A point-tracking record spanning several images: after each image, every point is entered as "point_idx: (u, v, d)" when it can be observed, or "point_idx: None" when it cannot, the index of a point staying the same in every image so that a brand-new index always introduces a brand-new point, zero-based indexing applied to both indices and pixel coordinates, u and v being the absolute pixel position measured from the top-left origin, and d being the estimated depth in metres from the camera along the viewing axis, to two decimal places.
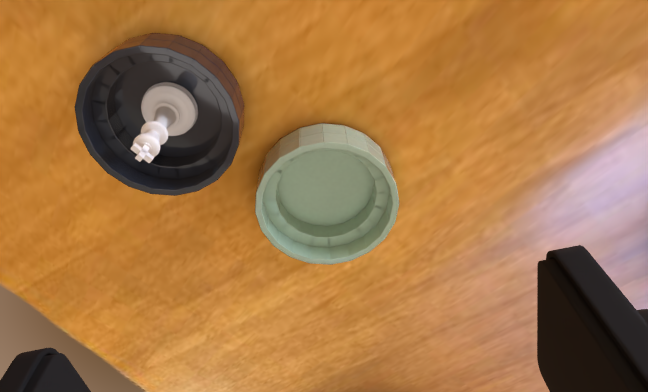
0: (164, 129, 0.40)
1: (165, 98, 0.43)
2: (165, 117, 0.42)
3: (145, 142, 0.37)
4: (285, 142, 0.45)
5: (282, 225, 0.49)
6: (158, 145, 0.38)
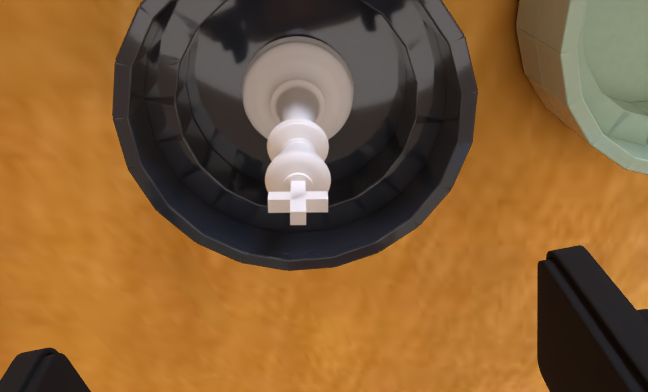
0: (307, 124, 0.17)
1: (275, 78, 0.20)
2: (296, 106, 0.19)
3: (288, 175, 0.15)
4: None
5: (647, 131, 0.21)
6: (317, 160, 0.15)
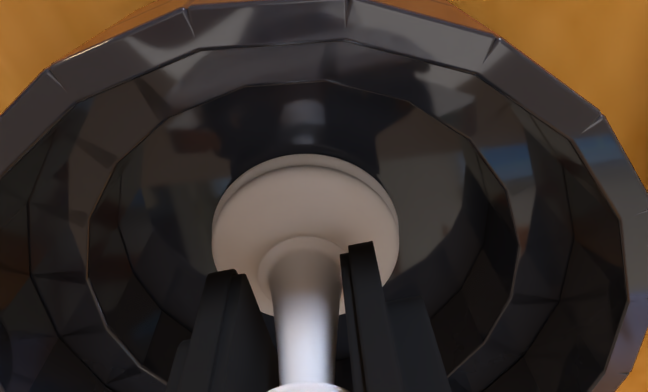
0: None
1: (267, 229, 0.12)
2: (304, 304, 0.10)
3: None
4: None
5: None
6: None
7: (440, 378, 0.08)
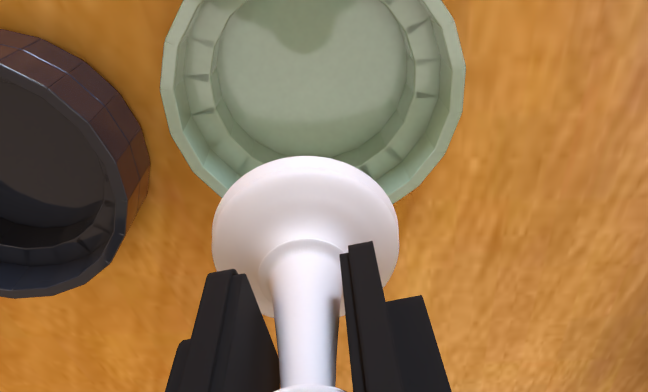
0: None
1: (267, 232, 0.12)
2: (304, 306, 0.10)
3: None
4: None
5: None
6: None
7: (440, 378, 0.08)
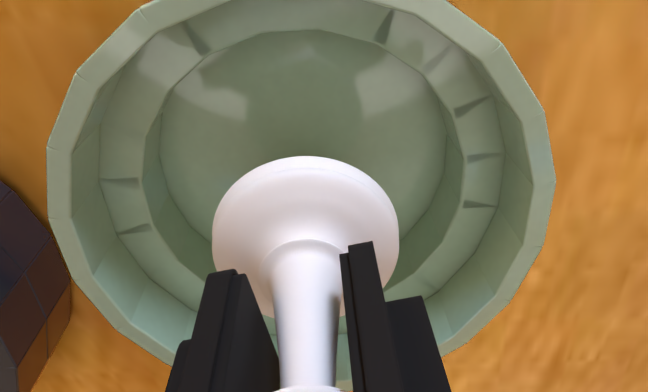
0: None
1: (267, 232, 0.12)
2: (304, 306, 0.10)
3: None
4: None
5: None
6: None
7: (440, 378, 0.08)
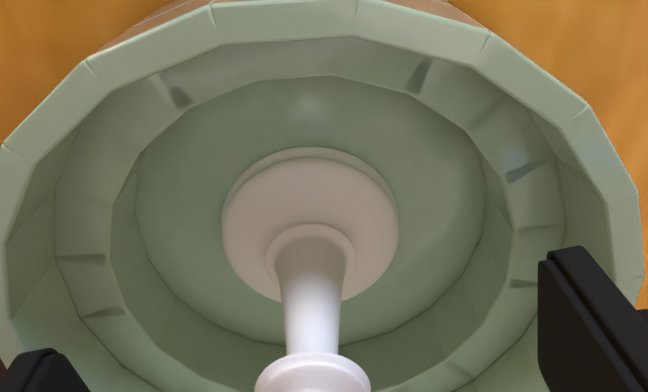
0: (331, 364, 0.09)
1: (273, 218, 0.12)
2: (309, 285, 0.11)
3: None
4: None
5: None
6: None
7: None
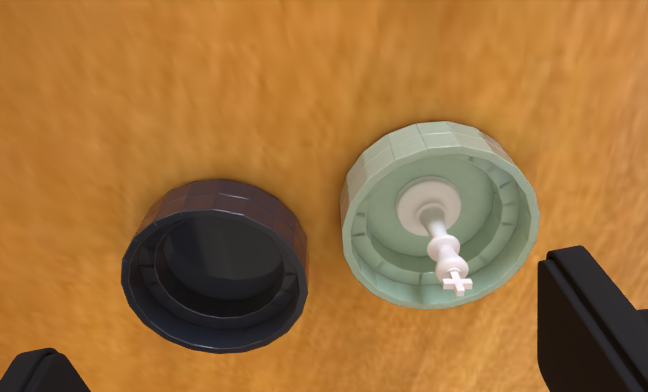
0: (450, 237, 0.32)
1: (418, 201, 0.36)
2: (436, 221, 0.34)
3: (449, 269, 0.30)
4: (342, 202, 0.35)
5: (417, 278, 0.38)
6: (463, 262, 0.30)
7: None
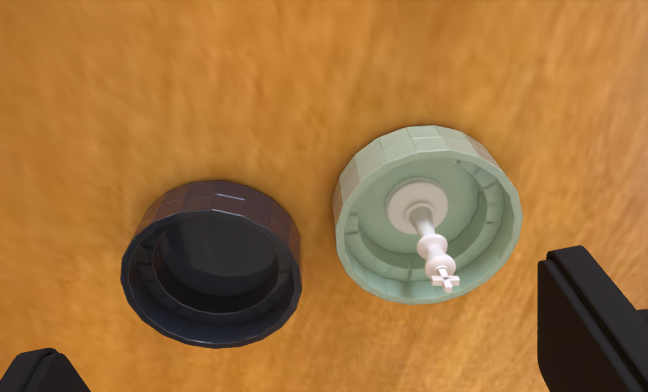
0: (438, 236, 0.33)
1: (408, 201, 0.37)
2: (425, 220, 0.36)
3: (437, 267, 0.32)
4: (335, 203, 0.37)
5: (406, 275, 0.40)
6: (451, 260, 0.32)
7: None
